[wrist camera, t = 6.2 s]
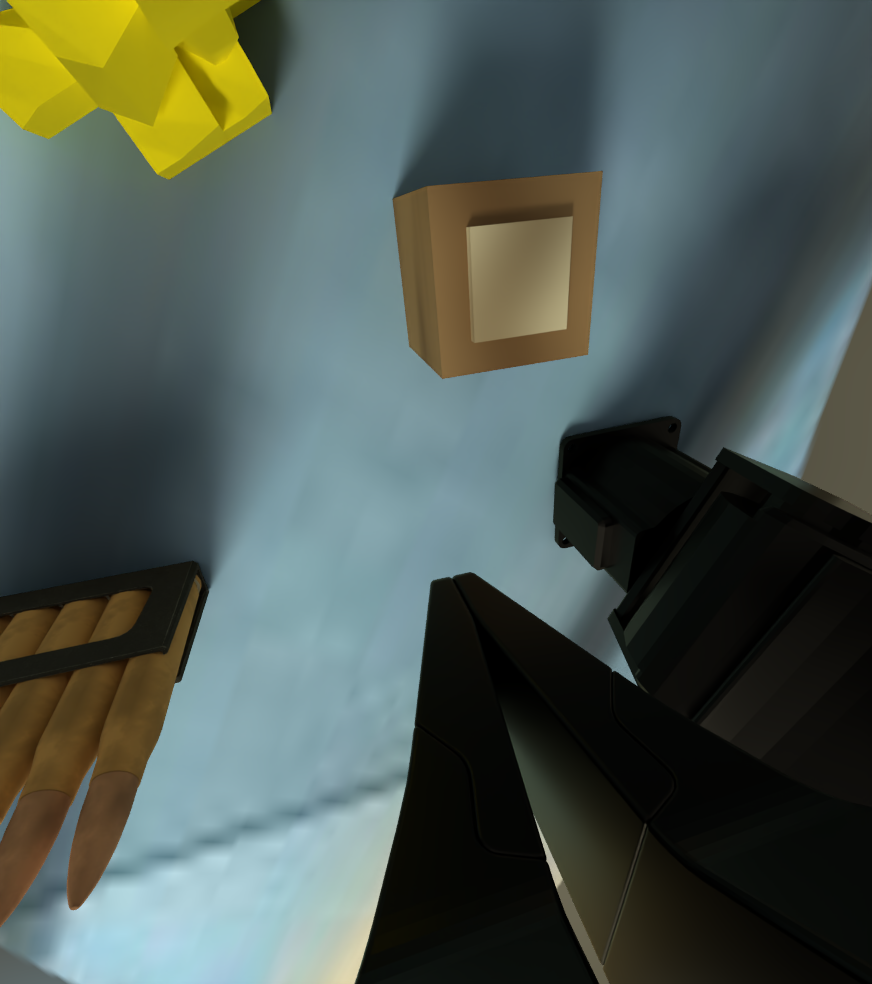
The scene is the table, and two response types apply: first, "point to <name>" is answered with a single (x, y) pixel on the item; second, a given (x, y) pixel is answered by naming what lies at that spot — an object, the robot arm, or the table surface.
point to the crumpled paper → (132, 72)
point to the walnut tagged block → (499, 270)
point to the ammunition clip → (85, 711)
